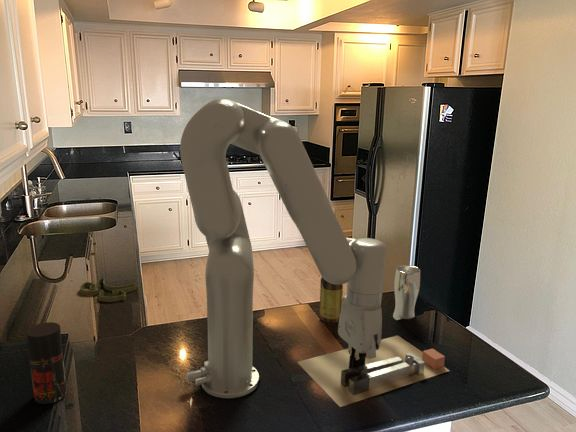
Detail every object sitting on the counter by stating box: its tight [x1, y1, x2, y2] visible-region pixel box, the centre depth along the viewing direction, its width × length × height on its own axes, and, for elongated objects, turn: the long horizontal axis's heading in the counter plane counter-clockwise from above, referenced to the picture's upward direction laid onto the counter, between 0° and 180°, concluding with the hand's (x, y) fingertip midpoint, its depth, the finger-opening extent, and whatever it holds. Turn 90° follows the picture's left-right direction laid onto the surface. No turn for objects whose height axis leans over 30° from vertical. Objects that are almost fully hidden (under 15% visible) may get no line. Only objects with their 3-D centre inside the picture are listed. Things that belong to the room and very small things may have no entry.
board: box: [296, 335, 451, 408], centre depth 108 cm, size 30×18×1 cm, turn 117°
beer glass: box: [392, 264, 421, 321], centre depth 133 cm, size 7×7×15 cm
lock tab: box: [422, 348, 446, 369], centre depth 109 cm, size 3×4×2 cm
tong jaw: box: [341, 357, 403, 387], centre depth 103 cm, size 15×2×3 cm, turn 115°
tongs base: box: [349, 352, 425, 396], centre depth 102 cm, size 19×5×4 cm, turn 117°
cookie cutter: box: [79, 277, 139, 303], centre depth 146 cm, size 18×12×2 cm, turn 71°
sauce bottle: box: [319, 276, 344, 324], centre depth 130 cm, size 7×6×20 cm
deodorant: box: [25, 321, 67, 402], centre depth 94 cm, size 6×6×15 cm
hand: (356, 371), depth 105 cm, fingers closed
